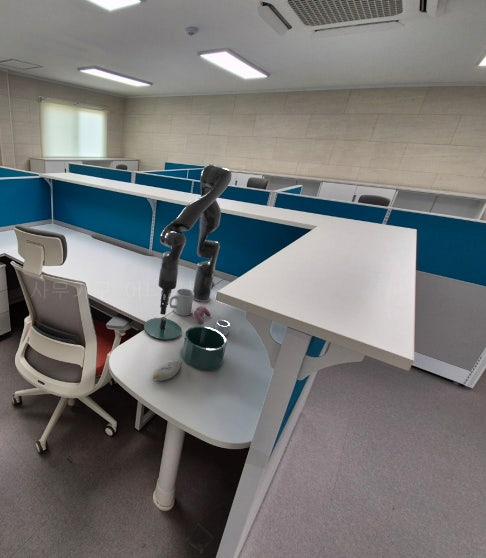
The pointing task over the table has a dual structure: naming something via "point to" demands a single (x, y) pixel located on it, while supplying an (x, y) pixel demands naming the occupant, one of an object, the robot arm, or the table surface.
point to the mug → (182, 302)
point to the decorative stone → (167, 370)
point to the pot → (204, 347)
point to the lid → (162, 328)
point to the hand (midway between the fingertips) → (164, 309)
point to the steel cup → (222, 326)
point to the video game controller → (201, 313)
